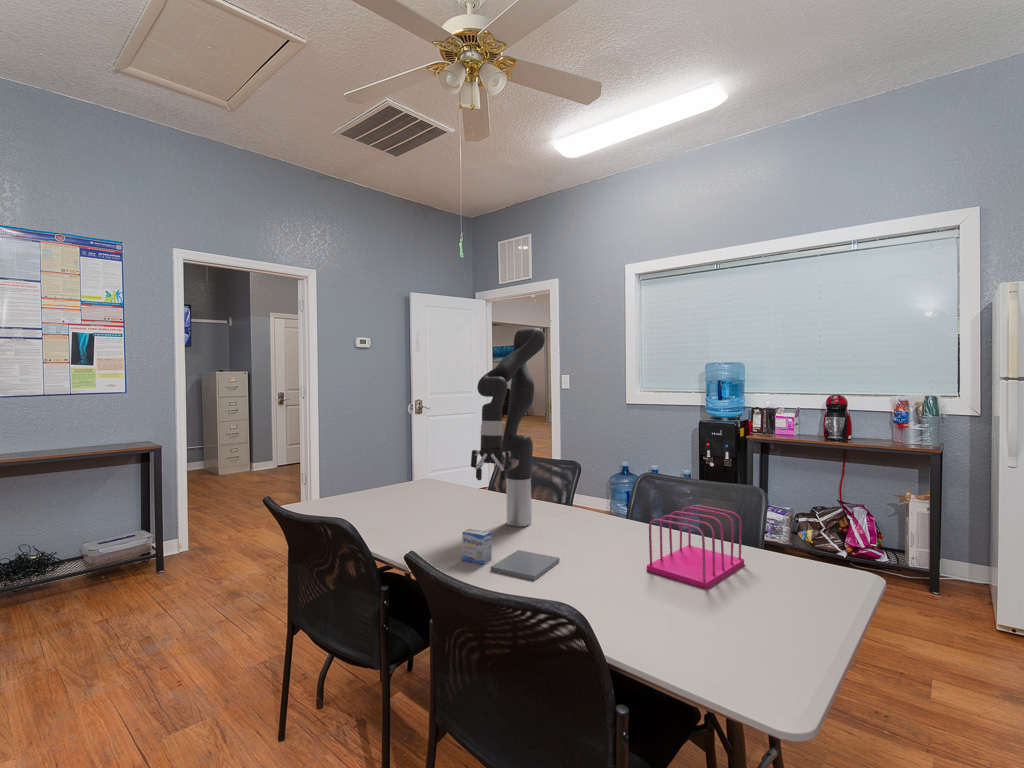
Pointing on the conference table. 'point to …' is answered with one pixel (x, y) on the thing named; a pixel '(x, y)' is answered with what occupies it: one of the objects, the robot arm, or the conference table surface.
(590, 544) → the conference table surface
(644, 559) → the conference table surface
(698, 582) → the file sorter
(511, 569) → the slate tile
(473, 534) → the medicine box
